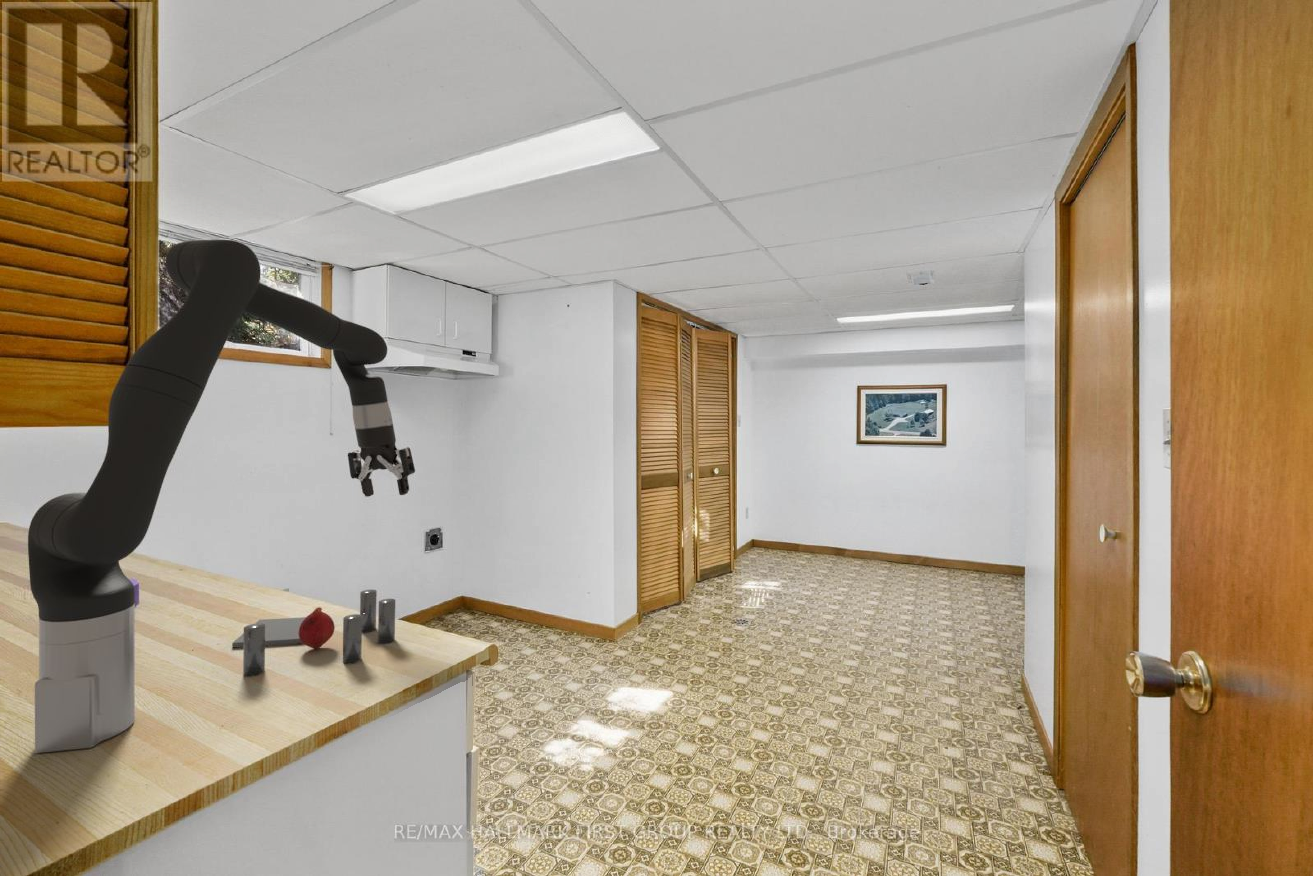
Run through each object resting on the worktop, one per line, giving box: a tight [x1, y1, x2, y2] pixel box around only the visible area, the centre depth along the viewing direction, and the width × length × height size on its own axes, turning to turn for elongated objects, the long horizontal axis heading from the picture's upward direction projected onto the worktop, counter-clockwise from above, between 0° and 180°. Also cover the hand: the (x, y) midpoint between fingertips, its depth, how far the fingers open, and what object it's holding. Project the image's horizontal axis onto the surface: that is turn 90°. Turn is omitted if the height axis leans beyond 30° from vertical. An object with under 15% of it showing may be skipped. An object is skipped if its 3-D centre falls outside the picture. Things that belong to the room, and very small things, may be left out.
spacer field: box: [242, 589, 396, 677], centre depth 106 cm, size 20×22×8 cm
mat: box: [231, 616, 307, 648], centre depth 111 cm, size 12×12×1 cm
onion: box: [299, 606, 336, 650], centre depth 105 cm, size 6×6×8 cm
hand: (386, 495), depth 124 cm, fingers open, 8 cm apart
